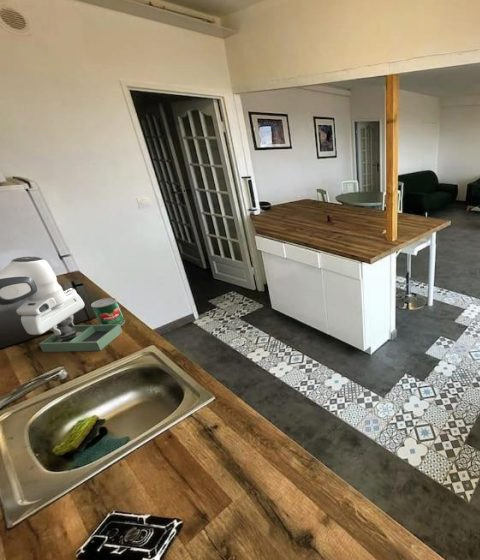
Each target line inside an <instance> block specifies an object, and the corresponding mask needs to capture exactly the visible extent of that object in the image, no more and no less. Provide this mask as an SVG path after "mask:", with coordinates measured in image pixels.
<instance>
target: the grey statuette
mask: <svg viewBox="0 0 480 560" xmlns="http://www.w3.org/2000/svg"><path fill="white" fill-rule="evenodd" d="M68 323H69V322H68V321H66V319H65V320H63V321H62V322H60V323H58V324H57V327H56V328H57V329H62V330H63V333H62V334H61V335H56V337H58V338H59V339H62V341H61V342H69V341H71V340H72V339H74V338H75V337H76V336H75V335H76V334H77V329H76V328H71V327H69V325H68Z"/></svg>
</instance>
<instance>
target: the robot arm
mask: <svg viewBox="0 0 480 560" xmlns="http://www.w3.org/2000/svg"><path fill="white" fill-rule="evenodd" d="M23 300H25V301H23ZM21 301H23V303H22V304H21V305H20V306H19V307H18V308H17V309H16V314H17V315H18V316H21V317H20V322H21V325H22V326H23V329H24V330H25V332H26V333H27V334H28V335H31V336H38V335H40V336H41V335H42V334H44V333H46V332H47V331H52V332H53V334H54V333H55V335H61V334H62V333H63V330H62V329H58V327H57V324H58V323H60V322H62V321H63V320H65V319H66V321H68V322H69V323H68V325H69V327H72V326H74V325H75V324H74V318H75V317H74V314H76V313H78V312H79V311H81V310H82V309H84V308H85V302H84V301H83V298H81V296H80V294H79V293H77V290H76V289H75V288H71V287H68V288H66V289H65V290H64V289H63V287H62V286H61V284H59V282H58V278H57V276H56V273H55V271H54V270H53V268H52V266H51V265H50V263H49V262H48V260H46V259H45V258H43V257H39V256H21V257H15V258H13V259H12V260H11V261H10V262H9V264H7V265H6V266H5V267H4V268H2V269H0V306H8V305H13V304H15V303H18V302H21Z"/></svg>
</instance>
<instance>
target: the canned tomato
mask: <svg viewBox="0 0 480 560" xmlns="http://www.w3.org/2000/svg"><path fill="white" fill-rule="evenodd" d="M90 307H91V308H92V310H93V314H94V315H95V317H96V319H97V321H98V324H99V325H109V324H120V326H123V325H124V324H125V323H126V320H125V318H124V317H125V316H124V315H123V313H122V310H121V308H120V306H119V303H118V301H117V299H116V298H115V297H104V298H100V299H98V300H95V301H93V302H92V303H91V304H90Z"/></svg>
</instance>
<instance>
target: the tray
mask: <svg viewBox="0 0 480 560" xmlns="http://www.w3.org/2000/svg"><path fill="white" fill-rule="evenodd" d="M121 326H122V325H121ZM121 326H120V324H109V325H100V324H76V325H75V324H74V326H72V327H71V328H76V329H77V334H76V335H75V336H76V337H75V338H74V339H72V340H71V341H69V342H61V341H62V339H59V338H58V337H56V335H55V333H54V332H53V334H51V335H50V336H48V337H47V338H45V339H44V340H42V341H41V342H39V343H38V346H39V347H40V349H41V351H42V352H43V353H62V352H91V351H92V352H93V351H94V352H95V351H102V350H103V349H105V348H106V347H107V346H108V345H109V344H111V342H113V340H115V339H116V338H117V337H119V336H120V335H121V334H122V333H123V328H122V327H121Z"/></svg>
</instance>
